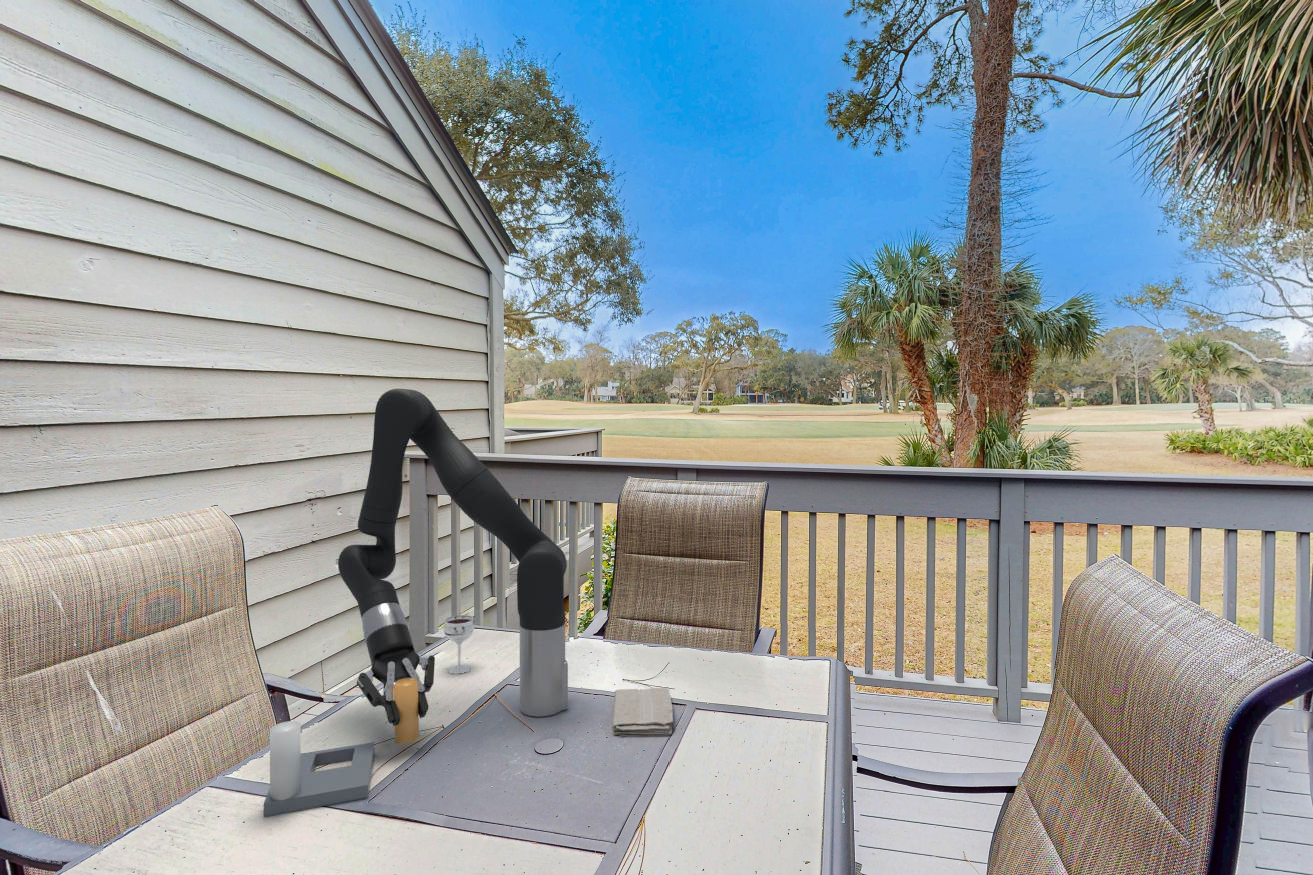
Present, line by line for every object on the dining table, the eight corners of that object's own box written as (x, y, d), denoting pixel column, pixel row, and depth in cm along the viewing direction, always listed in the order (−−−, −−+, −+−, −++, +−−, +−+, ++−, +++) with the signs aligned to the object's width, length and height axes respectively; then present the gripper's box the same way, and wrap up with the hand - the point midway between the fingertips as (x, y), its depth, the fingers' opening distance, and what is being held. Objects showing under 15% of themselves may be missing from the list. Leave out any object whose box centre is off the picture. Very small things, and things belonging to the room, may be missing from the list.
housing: (374, 753, 111) (374, 685, 111) (367, 797, 98) (367, 720, 98) (283, 767, 106) (282, 697, 106) (263, 816, 93) (262, 736, 93)
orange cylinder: (419, 730, 114) (417, 676, 114) (418, 741, 111) (417, 684, 110) (395, 734, 113) (394, 679, 113) (394, 745, 109) (392, 688, 109)
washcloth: (611, 740, 117) (611, 723, 117) (612, 698, 135) (612, 683, 135) (675, 738, 117) (675, 722, 117) (668, 697, 135) (668, 682, 135)
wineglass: (461, 677, 144) (461, 625, 144) (437, 673, 146) (437, 621, 146) (480, 666, 150) (480, 616, 150) (456, 662, 153) (456, 613, 152)
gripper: (349, 631, 112) (371, 722, 103) (429, 614, 122) (455, 697, 113) (342, 652, 117) (363, 742, 108) (420, 635, 126) (444, 716, 117)
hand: (410, 718), depth 110 cm, fingers closed on orange cylinder, 4 cm apart
